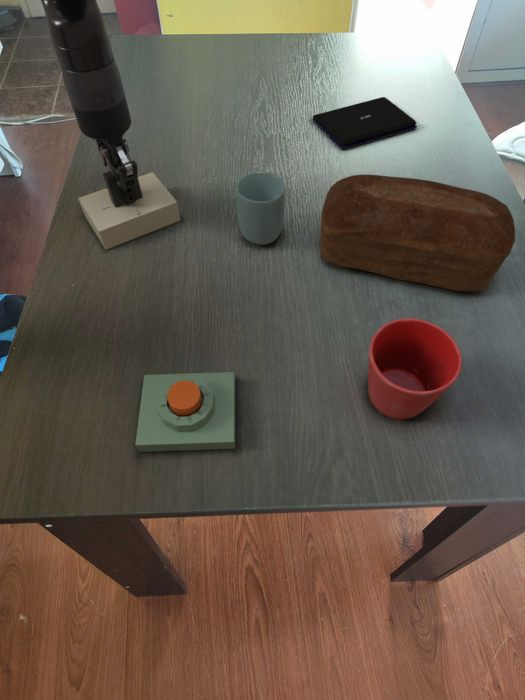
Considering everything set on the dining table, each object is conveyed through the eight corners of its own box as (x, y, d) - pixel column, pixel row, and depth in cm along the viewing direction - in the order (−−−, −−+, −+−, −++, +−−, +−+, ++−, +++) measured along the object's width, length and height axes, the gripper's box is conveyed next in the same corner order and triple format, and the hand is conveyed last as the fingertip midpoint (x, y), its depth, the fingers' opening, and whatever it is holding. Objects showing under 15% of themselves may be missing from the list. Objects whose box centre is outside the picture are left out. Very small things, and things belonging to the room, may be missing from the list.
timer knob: (115, 207, 78) (106, 178, 73) (111, 201, 79) (101, 172, 74) (143, 197, 80) (135, 167, 75) (138, 191, 81) (130, 162, 76)
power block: (139, 452, 58) (131, 439, 54) (147, 382, 63) (141, 367, 60) (235, 449, 58) (233, 435, 55) (235, 380, 64) (233, 364, 60)
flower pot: (339, 386, 63) (350, 345, 55) (397, 348, 67) (415, 304, 59) (394, 446, 58) (415, 410, 50) (454, 401, 62) (482, 361, 54)
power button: (168, 416, 57) (165, 409, 55) (170, 387, 59) (168, 380, 57) (201, 415, 57) (199, 408, 55) (202, 386, 59) (200, 379, 57)
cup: (274, 256, 77) (276, 207, 69) (231, 245, 79) (227, 195, 71) (289, 226, 81) (292, 177, 73) (248, 216, 83) (246, 166, 75)
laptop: (306, 113, 103) (307, 103, 101) (389, 99, 106) (391, 90, 104) (332, 153, 94) (334, 144, 92) (422, 137, 97) (425, 128, 95)
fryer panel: (105, 249, 78) (98, 230, 75) (85, 216, 83) (77, 197, 80) (180, 220, 82) (177, 201, 79) (157, 190, 87) (152, 171, 84)
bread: (489, 307, 71) (526, 247, 61) (309, 269, 76) (317, 207, 65) (491, 247, 78) (525, 184, 68) (328, 215, 83) (337, 152, 73)
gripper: (142, 108, 63) (165, 212, 77) (103, 67, 69) (131, 169, 84) (89, 125, 60) (123, 229, 75) (54, 81, 67) (91, 184, 81)
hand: (127, 197), depth 79 cm, fingers closed
